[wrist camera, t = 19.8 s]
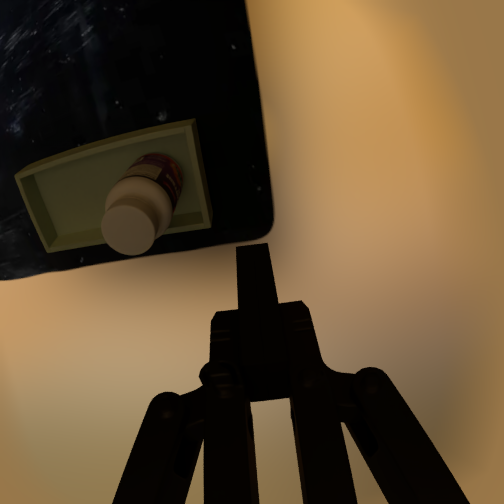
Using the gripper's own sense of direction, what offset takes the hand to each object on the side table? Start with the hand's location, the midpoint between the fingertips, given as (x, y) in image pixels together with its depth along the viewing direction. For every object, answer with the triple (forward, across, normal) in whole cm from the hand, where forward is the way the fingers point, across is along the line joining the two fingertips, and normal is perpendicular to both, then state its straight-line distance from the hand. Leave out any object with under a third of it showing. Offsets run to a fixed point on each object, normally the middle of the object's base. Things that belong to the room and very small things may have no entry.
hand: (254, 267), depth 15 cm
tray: (+16, -13, 0) cm, 20 cm away
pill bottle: (+15, -8, 0) cm, 17 cm away
